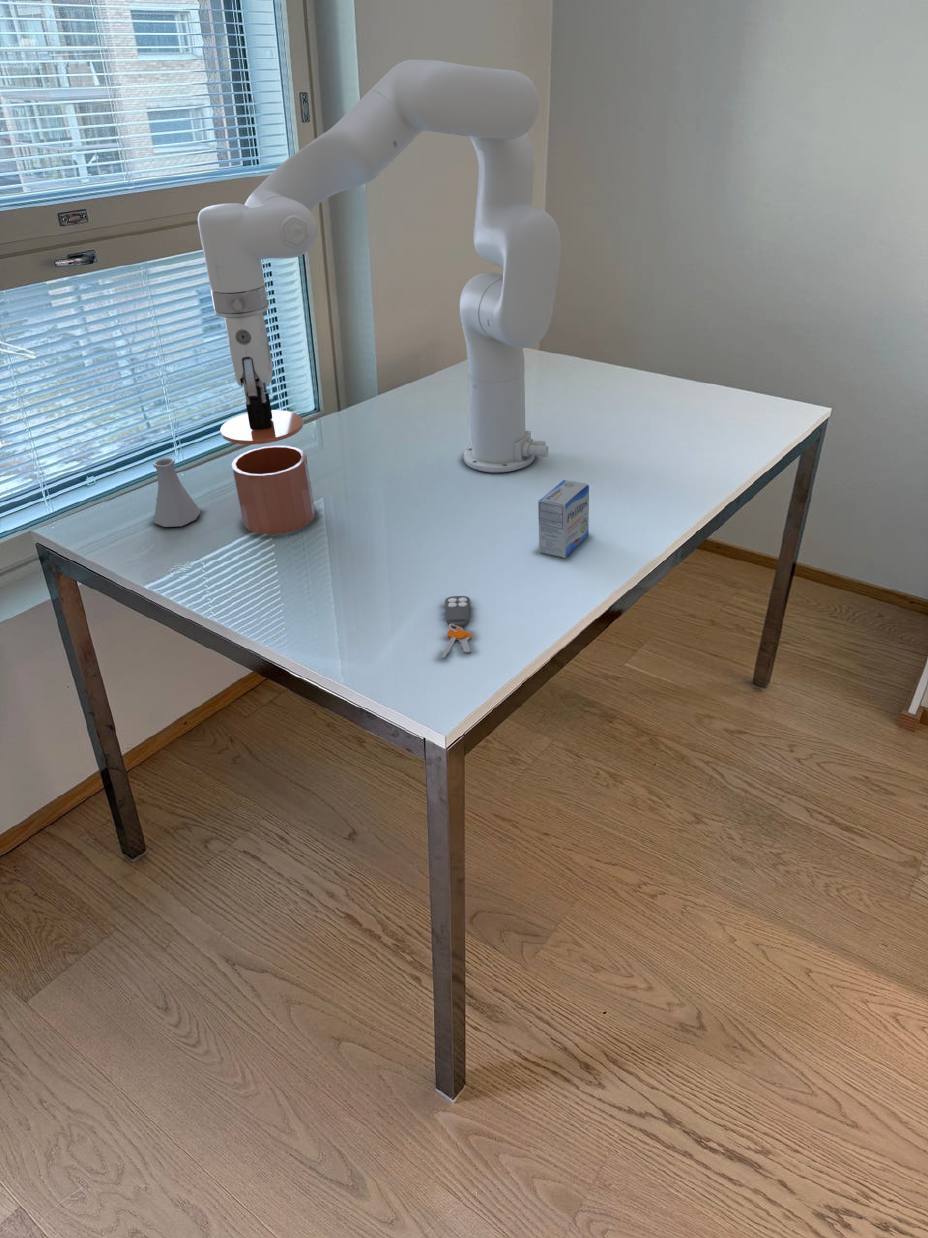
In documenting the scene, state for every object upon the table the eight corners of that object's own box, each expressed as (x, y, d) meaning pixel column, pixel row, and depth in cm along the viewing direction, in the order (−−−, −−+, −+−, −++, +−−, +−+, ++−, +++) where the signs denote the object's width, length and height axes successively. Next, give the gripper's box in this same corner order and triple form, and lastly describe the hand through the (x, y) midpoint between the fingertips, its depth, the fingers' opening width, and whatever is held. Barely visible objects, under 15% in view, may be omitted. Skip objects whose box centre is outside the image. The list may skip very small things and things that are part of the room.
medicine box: (565, 559, 137) (565, 505, 132) (538, 552, 139) (537, 499, 134) (589, 536, 142) (590, 483, 138) (562, 530, 144) (562, 478, 140)
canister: (328, 509, 155) (319, 449, 149) (292, 541, 146) (281, 479, 140) (268, 500, 159) (257, 442, 153) (229, 532, 150) (216, 471, 144)
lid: (318, 421, 147) (313, 384, 143) (276, 452, 137) (270, 414, 134) (250, 414, 151) (243, 378, 148) (205, 443, 141) (197, 406, 138)
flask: (208, 510, 157) (195, 454, 151) (184, 530, 151) (170, 473, 146) (171, 506, 159) (157, 450, 153) (145, 526, 153) (130, 469, 148)
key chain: (443, 604, 129) (442, 594, 128) (470, 602, 128) (470, 593, 128) (441, 659, 118) (441, 649, 117) (471, 658, 118) (471, 648, 117)
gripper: (265, 312, 127) (286, 441, 137) (268, 283, 140) (287, 403, 150) (208, 317, 126) (233, 447, 136) (217, 288, 140) (239, 407, 150)
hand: (261, 422), depth 143 cm, fingers closed on lid, 2 cm apart
